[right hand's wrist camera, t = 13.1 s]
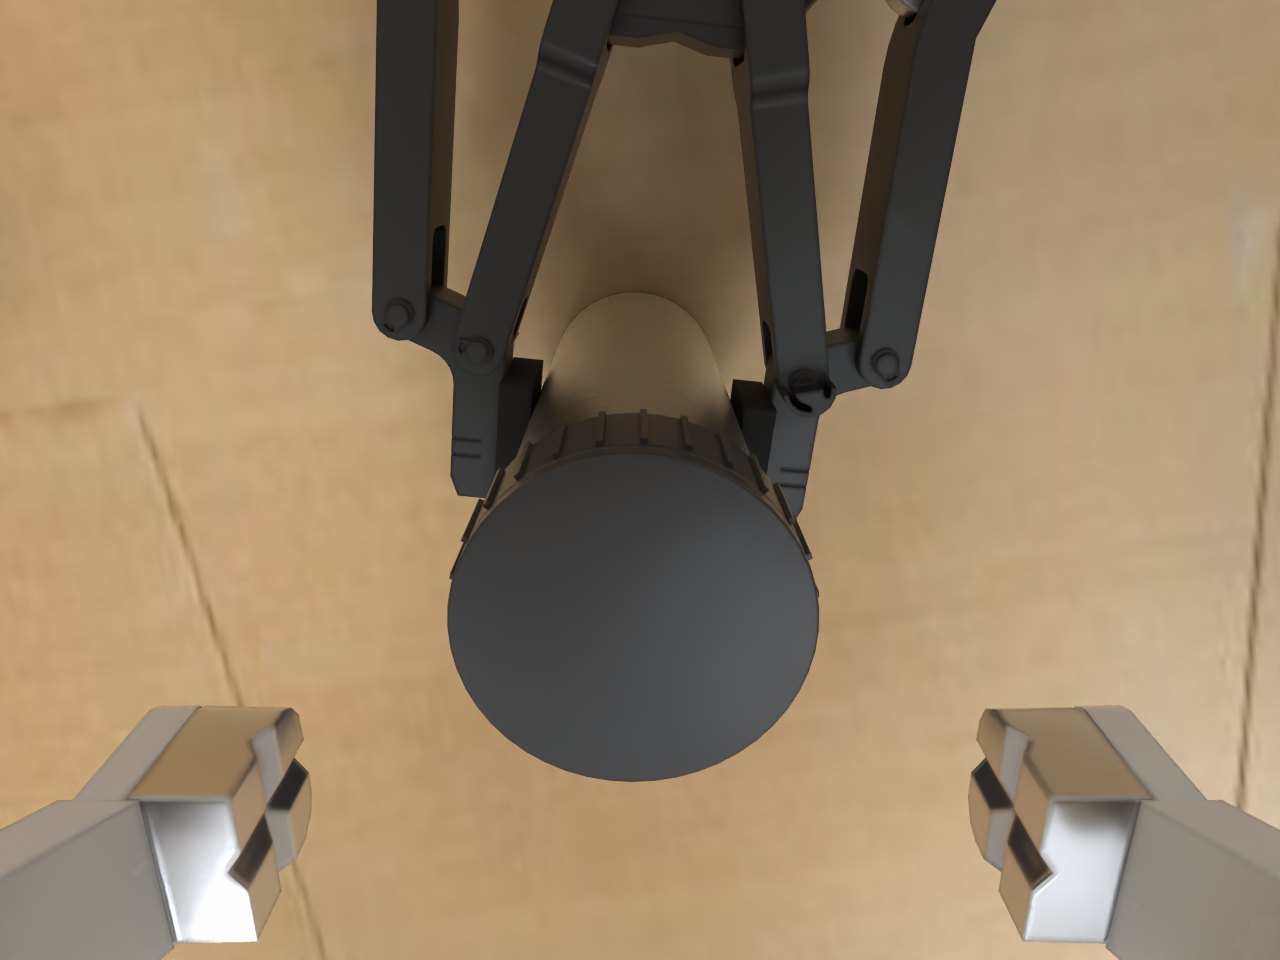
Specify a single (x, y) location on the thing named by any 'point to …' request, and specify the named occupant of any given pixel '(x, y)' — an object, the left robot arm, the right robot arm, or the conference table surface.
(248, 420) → the conference table surface
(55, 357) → the conference table surface
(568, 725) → the lid
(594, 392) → the jar
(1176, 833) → the right robot arm
